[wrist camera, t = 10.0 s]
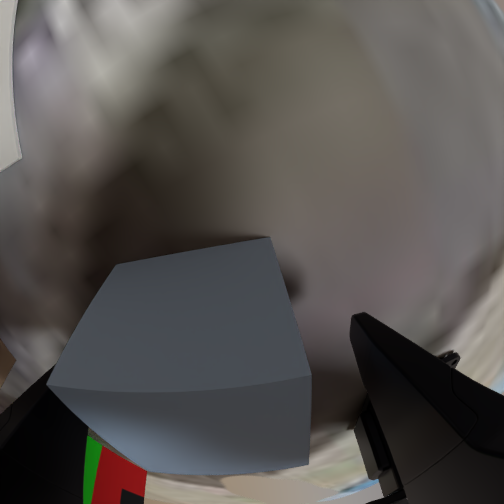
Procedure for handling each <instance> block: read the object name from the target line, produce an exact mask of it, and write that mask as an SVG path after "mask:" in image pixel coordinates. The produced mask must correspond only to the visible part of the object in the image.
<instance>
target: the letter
mask: <svg viewBox="0 0 504 504" xmlns="http://www.w3.org/2000/svg"><path fill="white" fill-rule="evenodd" d="M17 3H18V0H0V173H1V172H2V171H3V170H5V169H6V168H8V167H9V166H11V165H13V164H14V163H16V162H17V161H19V160H20V159H22V154H21V149H20V143H19V138H18V131H17V125H16V117H15V108H14V97H13V79H12V52H13V35H14V24H15V16H16V9H17Z"/></svg>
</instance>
